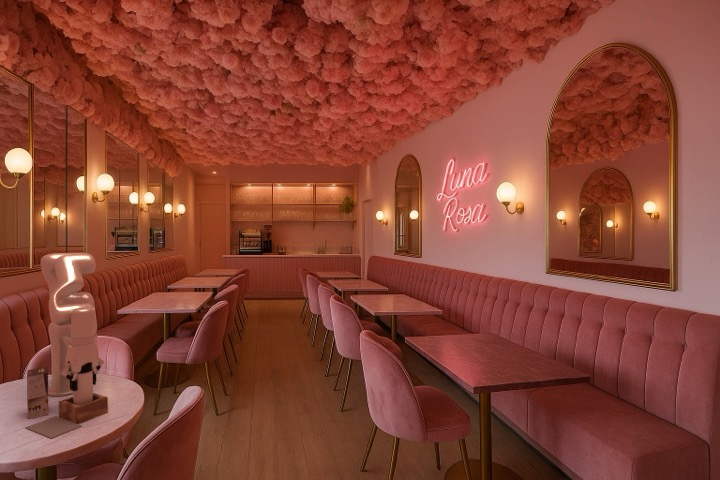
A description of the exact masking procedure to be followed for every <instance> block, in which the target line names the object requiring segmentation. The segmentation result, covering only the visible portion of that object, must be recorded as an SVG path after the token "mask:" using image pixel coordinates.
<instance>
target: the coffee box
mask: <svg viewBox="0 0 720 480" xmlns="http://www.w3.org/2000/svg"><path fill="white" fill-rule="evenodd" d="M26 387H27V388H26V389H27V390H26V392H27V393H26V396H27V397H26V398H27V401H26V402H27V404H26V405H27V419H33V418H39V417H43V416H47V415H49V395H48V390H49V369H48V366H45V367H44V366H43V367H38V368H33V369H27V374H26Z"/></svg>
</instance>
